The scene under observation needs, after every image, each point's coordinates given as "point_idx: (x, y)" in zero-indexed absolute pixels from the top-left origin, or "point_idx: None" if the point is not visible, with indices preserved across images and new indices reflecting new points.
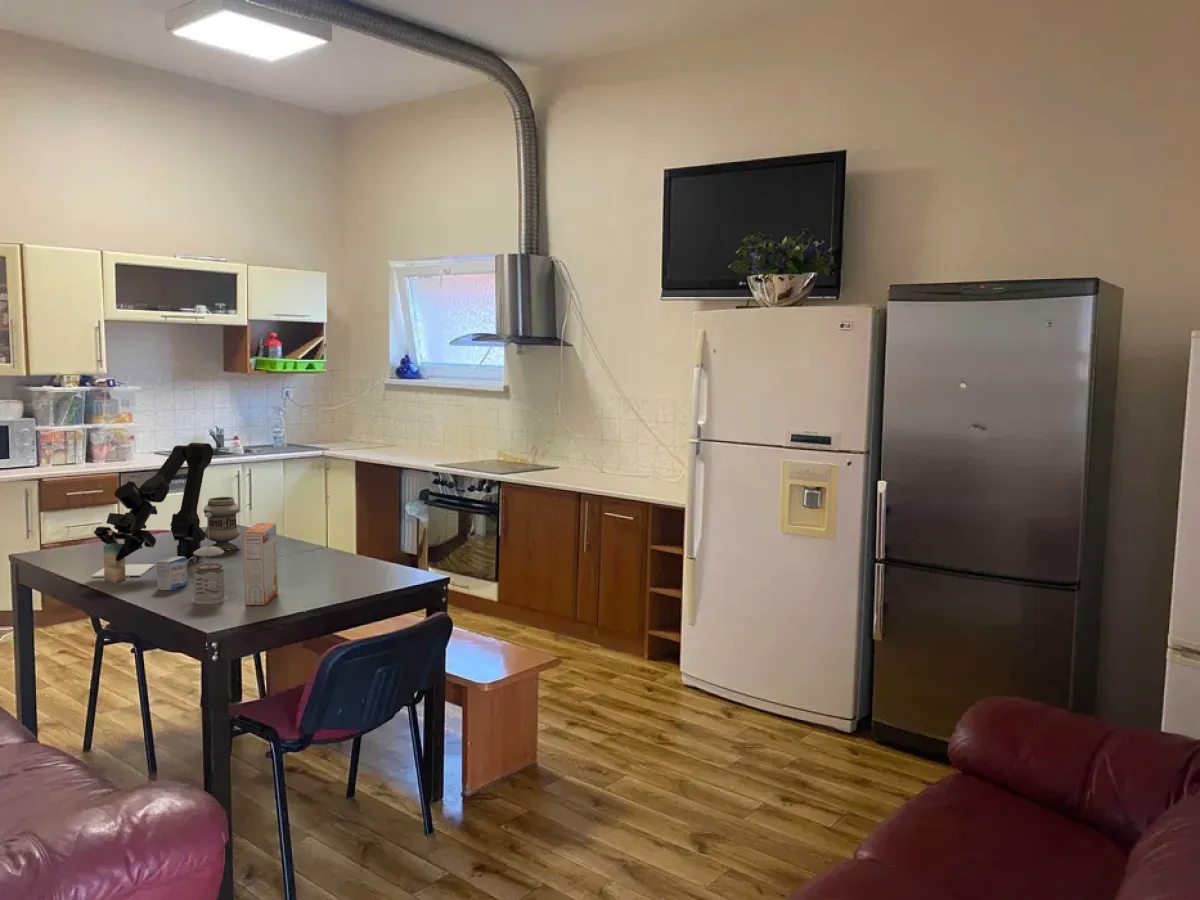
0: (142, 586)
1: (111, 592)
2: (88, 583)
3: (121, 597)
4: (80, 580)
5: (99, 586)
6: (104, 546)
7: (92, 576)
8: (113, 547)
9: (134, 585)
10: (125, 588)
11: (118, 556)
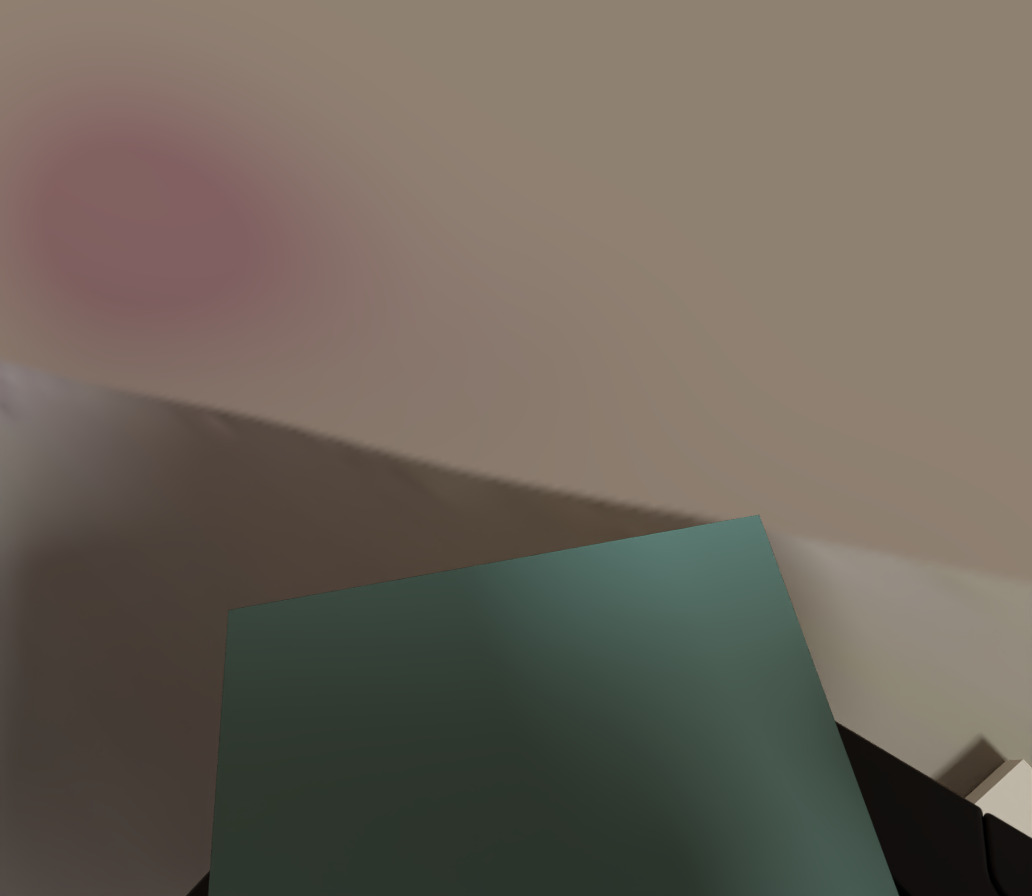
0: (24, 764)
1: (188, 429)
2: None
3: (3, 376)
4: (940, 580)
5: (476, 512)
6: (703, 537)
7: (1008, 769)
8: (300, 617)
9: (146, 749)
10: (159, 594)
11: None
